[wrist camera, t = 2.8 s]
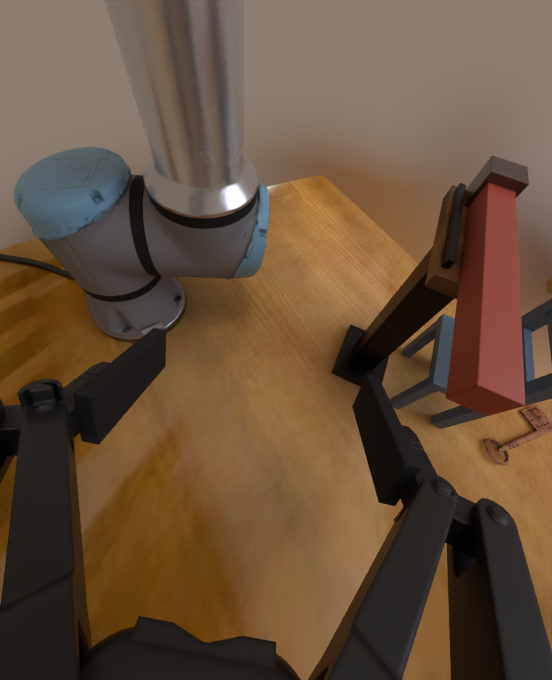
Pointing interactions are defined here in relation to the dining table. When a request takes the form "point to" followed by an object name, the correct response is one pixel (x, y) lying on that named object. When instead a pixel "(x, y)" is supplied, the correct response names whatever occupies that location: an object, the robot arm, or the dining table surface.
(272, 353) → the dining table surface
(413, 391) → the chair
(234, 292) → the dining table surface
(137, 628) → the robot arm
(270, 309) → the dining table surface
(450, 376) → the hanger bar
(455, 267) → the stand
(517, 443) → the key
